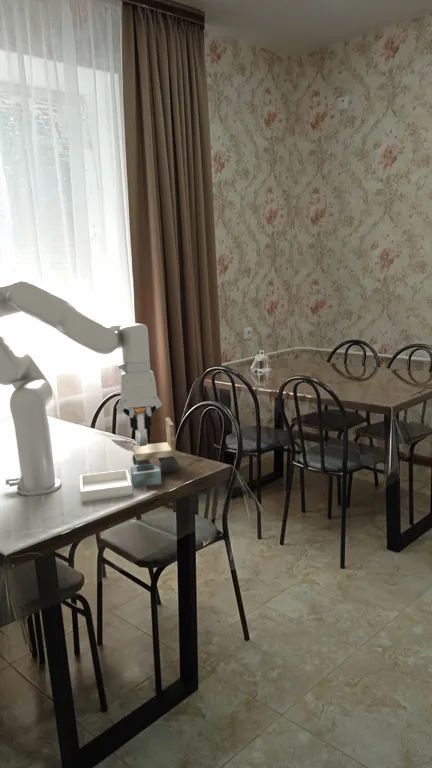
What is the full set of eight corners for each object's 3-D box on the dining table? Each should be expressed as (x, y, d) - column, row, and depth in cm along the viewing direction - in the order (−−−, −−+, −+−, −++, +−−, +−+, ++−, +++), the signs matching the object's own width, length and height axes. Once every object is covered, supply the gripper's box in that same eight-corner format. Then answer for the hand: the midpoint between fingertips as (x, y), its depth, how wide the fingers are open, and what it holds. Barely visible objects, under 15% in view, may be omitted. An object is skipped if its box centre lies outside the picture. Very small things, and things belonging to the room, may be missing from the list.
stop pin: (135, 447, 182) (132, 408, 180) (133, 443, 186) (131, 405, 184) (150, 445, 183) (147, 407, 181) (148, 441, 187) (146, 404, 185)
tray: (81, 501, 174) (80, 491, 173) (80, 484, 187) (79, 475, 186) (132, 495, 176) (131, 484, 176) (128, 478, 190) (127, 469, 189)
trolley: (134, 487, 182) (129, 437, 179) (128, 467, 201) (124, 421, 198) (183, 480, 185) (180, 431, 182) (173, 461, 204) (170, 416, 201)
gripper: (108, 371, 175) (113, 435, 179) (167, 367, 178) (170, 429, 182) (107, 367, 182) (111, 428, 186) (163, 363, 186) (167, 423, 189)
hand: (140, 428), depth 184 cm, fingers closed on stop pin, 3 cm apart
